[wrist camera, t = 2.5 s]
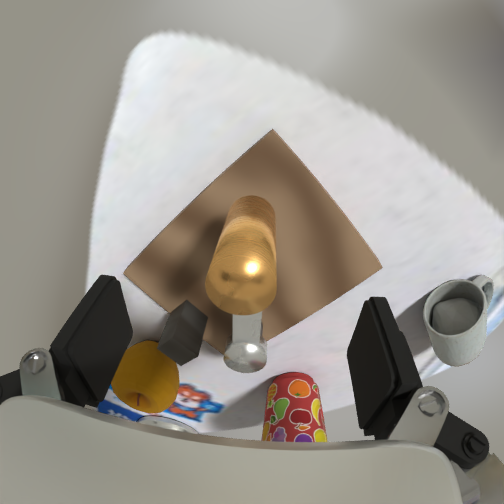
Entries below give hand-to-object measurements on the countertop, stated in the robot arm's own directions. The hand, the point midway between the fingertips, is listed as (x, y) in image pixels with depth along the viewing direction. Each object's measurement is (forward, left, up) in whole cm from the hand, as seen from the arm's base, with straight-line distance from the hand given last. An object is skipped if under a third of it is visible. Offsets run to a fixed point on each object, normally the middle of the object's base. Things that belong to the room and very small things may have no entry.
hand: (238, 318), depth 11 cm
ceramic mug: (+9, -25, -17) cm, 32 cm away
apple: (-24, -7, -17) cm, 30 cm away
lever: (-6, -5, -12) cm, 14 cm away
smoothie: (-14, -23, -17) cm, 32 cm away
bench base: (-6, -5, -17) cm, 18 cm away
